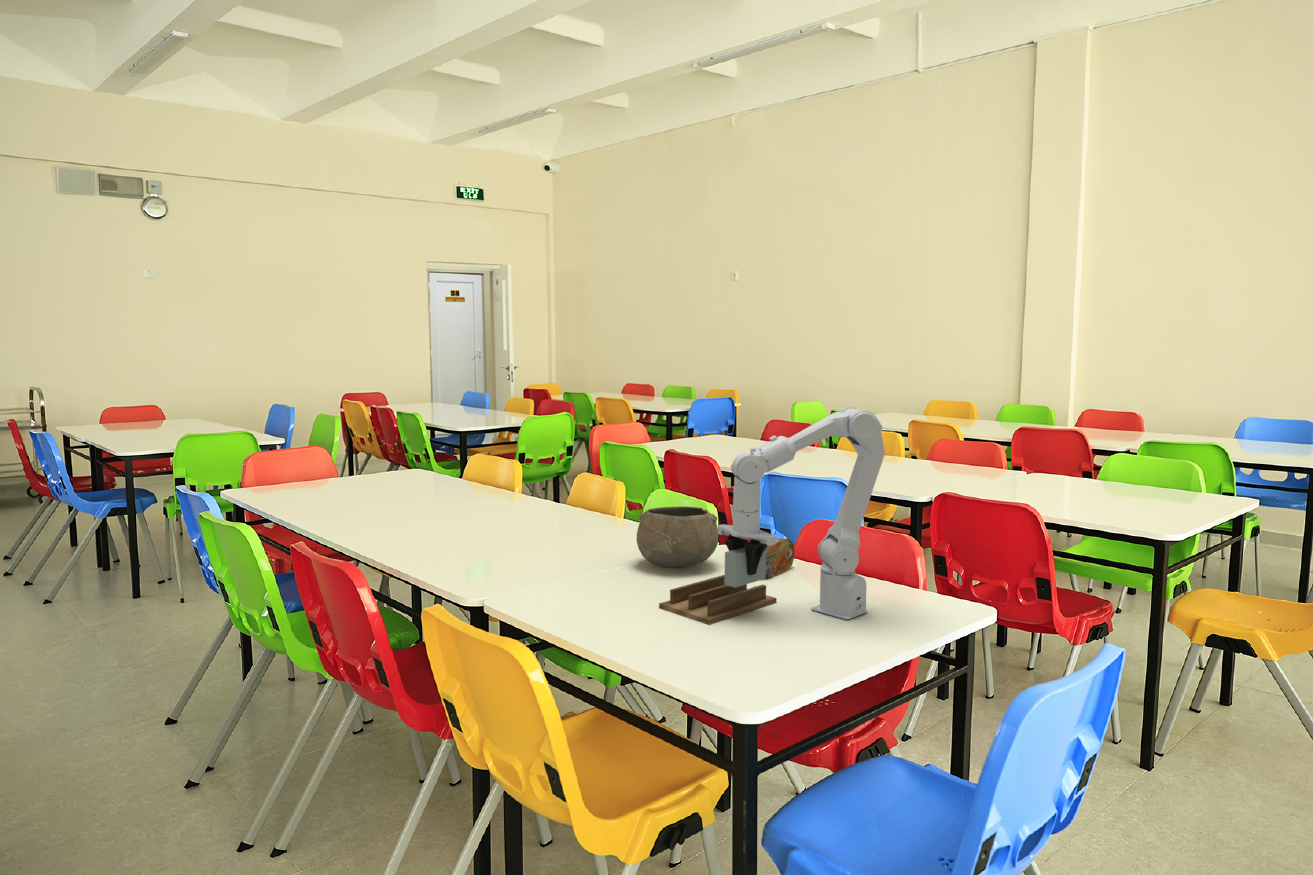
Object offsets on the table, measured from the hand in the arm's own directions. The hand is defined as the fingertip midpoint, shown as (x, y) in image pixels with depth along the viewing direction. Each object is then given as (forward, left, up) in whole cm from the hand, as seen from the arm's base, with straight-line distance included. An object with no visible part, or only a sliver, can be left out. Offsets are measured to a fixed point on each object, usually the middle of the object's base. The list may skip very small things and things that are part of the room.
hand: (745, 572), depth 181 cm
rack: (+8, 0, -9) cm, 12 cm away
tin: (+16, -30, -9) cm, 35 cm away
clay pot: (+37, -16, -9) cm, 41 cm away
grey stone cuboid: (0, 0, -2) cm, 2 cm away
